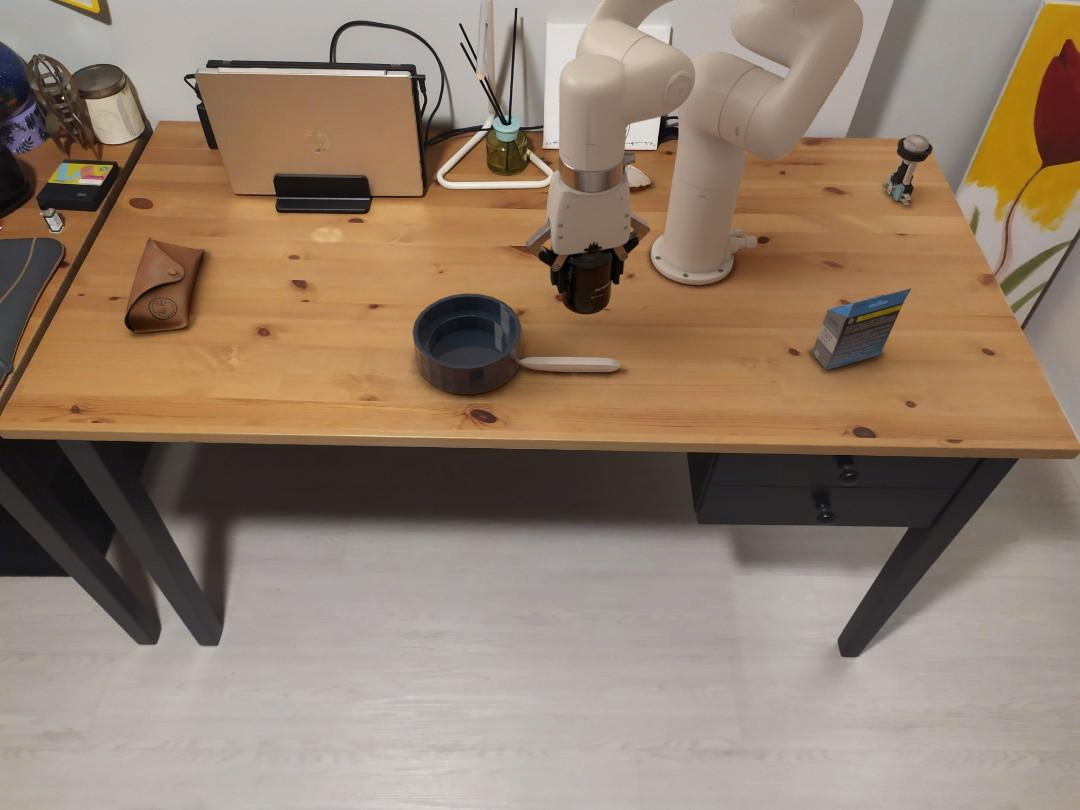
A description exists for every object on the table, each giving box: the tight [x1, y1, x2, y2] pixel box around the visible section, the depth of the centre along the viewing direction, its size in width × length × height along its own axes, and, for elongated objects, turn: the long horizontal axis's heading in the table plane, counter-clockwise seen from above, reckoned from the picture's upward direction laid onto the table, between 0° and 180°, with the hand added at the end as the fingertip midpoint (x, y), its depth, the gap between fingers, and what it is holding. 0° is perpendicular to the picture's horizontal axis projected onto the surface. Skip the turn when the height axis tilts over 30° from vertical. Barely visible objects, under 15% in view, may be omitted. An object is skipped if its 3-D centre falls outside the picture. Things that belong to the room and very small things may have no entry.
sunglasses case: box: [123, 237, 205, 334], centre depth 118 cm, size 18×7×7 cm
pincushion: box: [625, 164, 651, 188], centre depth 136 cm, size 12×6×6 cm, turn 87°
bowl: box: [412, 293, 523, 395], centre depth 109 cm, size 14×14×6 cm
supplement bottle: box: [560, 241, 614, 316], centre depth 106 cm, size 7×7×12 cm
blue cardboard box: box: [811, 287, 912, 371], centre depth 107 cm, size 9×4×12 cm, turn 110°
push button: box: [886, 133, 934, 206], centre depth 133 cm, size 7×5×10 cm
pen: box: [519, 356, 621, 373], centre depth 109 cm, size 2×14×2 cm, turn 90°
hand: (586, 281), depth 108 cm, fingers closed on supplement bottle, 6 cm apart
